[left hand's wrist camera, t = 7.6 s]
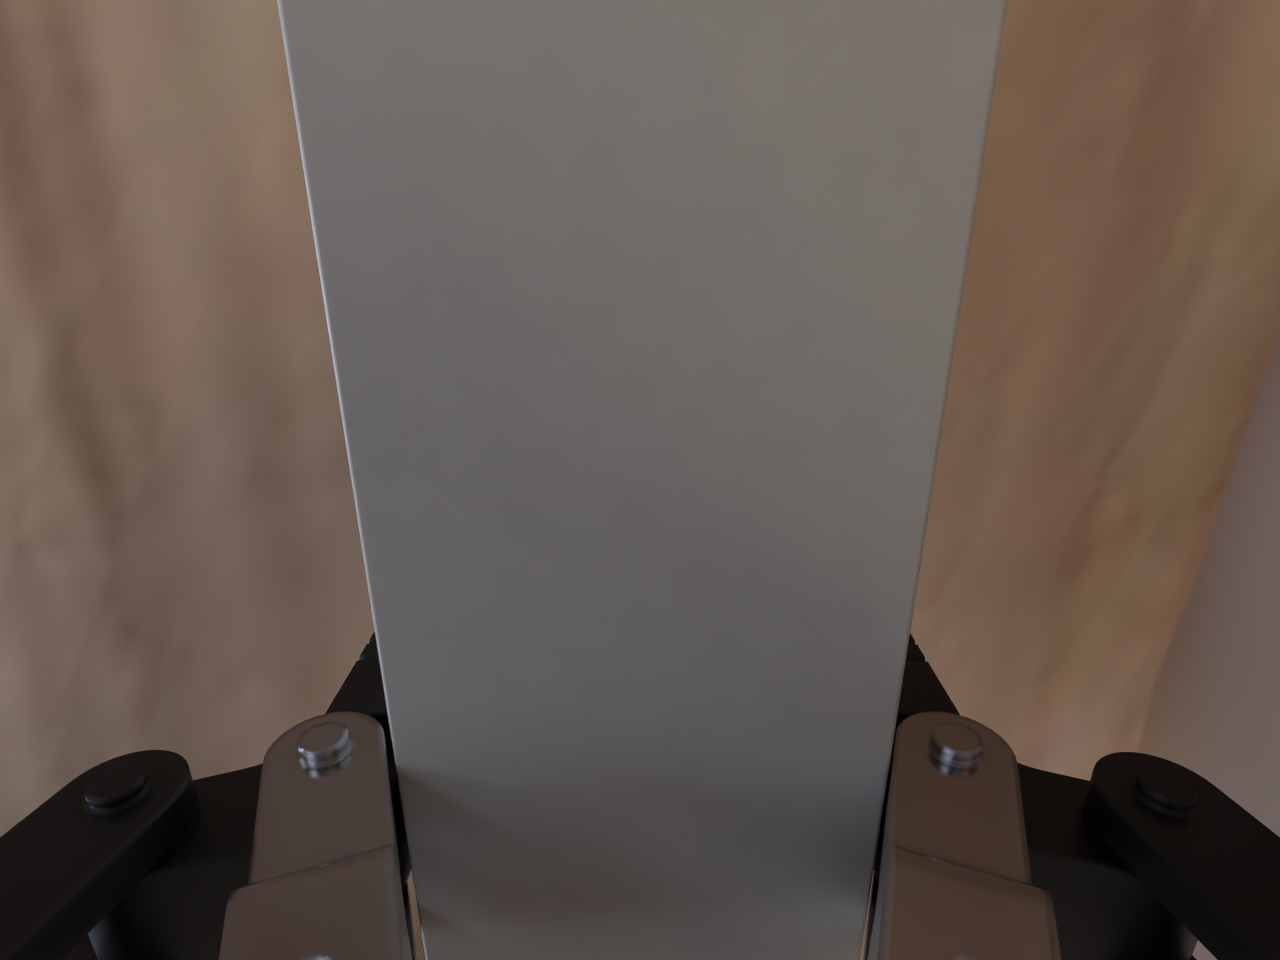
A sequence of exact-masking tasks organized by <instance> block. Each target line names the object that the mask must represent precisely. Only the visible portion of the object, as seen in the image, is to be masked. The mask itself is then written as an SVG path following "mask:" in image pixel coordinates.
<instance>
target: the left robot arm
mask: <svg viewBox="0 0 1280 960" xmlns="http://www.w3.org/2000/svg"><path fill="white" fill-rule="evenodd" d="M410 871H411V861H410V855H409V848H408V842H407V835H406V829H405V822H404V816H403V809H402V803H401V797H400V790H399V784H398V777H397V771H396V764H395V758H394V751H393V745H392V738H391V732H390V725H389V719H388V713H387V706H386V700H385V693H384V687H383V680H382V674H381V667H380V661H379V654H378V648H377V642H376V635H375V632H374V633H373V635H372V637H371V638H370V643H369V644H367V645H366V647H365V648H364V650H363V652H362V653H361V655H360V660H359V661H357V662H356V663H355V665H354V667H353V668H352V670H351V672H350V673H349V675H348V677H347V678H346V680H345V682H344V683H343V685H342V687H341V688H340V690H339V692H338V693H337V695H336V697H335V698H334V700H333V702H332V703H331V705H330V707H329V708H328V710H327V712H326V713H325V714H323V715H320V716H316V717H313V718H311V719H308V720H305V721H303V722H301V723H299V724H297V725H295V726H294V727H292V728H290V729H289V730H287V731H286V732H285V733H283V734H282V735H281V736H279V737H278V738H277V739H276V740H275V741H274V742H273V744H272V745H271V746H270V748H269V749H268V751H267V752H266V754H265V756H264V760H263V764H260V765H257V766H253V767H250V768H246V769H242V770H237V771H233V772H228V773H224V774H219V775H215V776H211V777H206V778H202V779H197V780H193V779H192V776H191V772H190V769H189V765H188V763H187V761H186V760H185V759H184V758H183V757H182V756H180V755H179V754H177V753H174V752H170V751H165V750H147V751H139V752H134V753H130V754H126V755H123V756H120V757H116V758H114V759H111V760H109V761H106V762H104V763H101V764H99V765H97V766H95V767H93V768H91V769H90V770H88V771H86V772H85V773H83V774H81V775H80V776H78V777H77V778H75V779H74V780H73V781H71V782H70V783H69V784H67V785H66V786H65V787H63V788H62V789H61V790H60V791H58V792H57V793H56V794H55V795H53V796H52V797H51V798H50V799H48V800H47V801H46V802H45V803H43V804H42V805H41V806H39V807H38V808H37V809H36V810H34V811H33V812H32V813H31V814H29V815H28V816H27V817H26V818H24V819H23V820H22V821H21V822H19V823H18V824H17V825H16V826H14V827H13V828H12V829H10V830H9V831H8V832H7V833H5V834H4V835H3V836H2V837H0V960H417V958H416V948H415V939H414V930H413V921H412V912H411V903H410V894H409V888H408V882H407V880H408V877H409V874H410ZM1197 940H1199V941H1200V942H1201V943H1202V944H1203V945H1204V946H1205V947H1206V948H1207V949H1208V950H1209V951H1210V952H1211V953H1212V954H1213V955H1214V956H1215V957H1216V959H1218V960H1280V837H1278V836H1277V835H1276V834H1275V833H1273V832H1272V831H1271V830H1269V829H1268V828H1267V827H1266V826H1265V825H1263V824H1262V823H1261V822H1259V821H1258V820H1257V819H1256V818H1254V817H1253V816H1252V815H1251V814H1249V813H1248V812H1247V811H1246V810H1244V809H1243V808H1242V807H1240V806H1239V805H1238V804H1237V803H1235V802H1234V801H1233V800H1232V799H1230V798H1229V797H1228V796H1227V795H1225V794H1224V793H1223V792H1222V791H1220V790H1219V789H1218V788H1217V787H1215V786H1214V785H1213V784H1211V783H1210V782H1208V781H1207V780H1206V779H1204V778H1203V777H1201V776H1199V775H1198V774H1196V773H1194V772H1193V771H1191V770H1189V769H1187V768H1185V767H1183V766H1181V765H1178V764H1176V763H1174V762H1171V761H1169V760H1166V759H1162V758H1159V757H1156V756H1152V755H1147V754H1142V753H1135V752H1120V753H1113V754H1109V755H1106V756H1104V757H1103V758H1101V759H1100V760H1099V761H1098V762H1097V763H1096V765H1095V767H1094V769H1093V773H1092V776H1091V780H1090V781H1087V780H1082V779H1078V778H1074V777H1069V776H1065V775H1060V774H1056V773H1051V772H1047V771H1043V770H1039V769H1035V768H1031V767H1028V766H1025V765H1022V764H1019V763H1017V760H1016V756H1015V754H1014V752H1013V751H1012V749H1011V748H1010V746H1009V745H1008V744H1007V742H1006V741H1005V740H1004V739H1003V738H1002V737H1001V736H999V735H998V734H997V733H995V732H994V731H993V730H991V729H990V728H988V727H986V726H985V725H983V724H981V723H979V722H977V721H975V720H972V719H969V718H967V717H964V716H960V714H959V712H958V711H957V709H956V708H955V706H954V704H953V703H952V701H951V699H950V698H949V696H948V694H947V693H946V691H945V689H944V688H943V686H942V685H941V683H940V681H939V680H938V678H937V676H936V675H935V673H934V671H933V670H932V668H931V666H930V665H929V663H928V662H925V657H924V655H923V653H922V652H921V650H920V648H919V647H918V645H915V640H914V639H913V637H912V635H911V634H910V635H909V642H908V648H907V655H906V661H905V668H904V674H903V681H902V687H901V694H900V700H899V707H898V713H897V720H896V726H895V733H894V739H893V746H892V752H891V759H890V765H889V772H888V778H887V785H886V791H885V798H884V804H883V811H882V817H881V824H880V830H879V837H878V843H877V850H876V856H875V863H874V875H873V882H872V888H871V894H870V903H869V912H868V921H867V930H866V939H865V948H864V958H863V960H1196V959H1195V958H1194V957H1193V955H1192V953H1193V951H1194V948H1195V945H1196V943H1197Z"/></svg>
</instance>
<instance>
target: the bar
mask: <svg viewBox="0 0 1280 960" xmlns="http://www.w3.org/2000/svg"><path fill="white" fill-rule="evenodd" d="M277 2H278V8H279V15H280V21H281V28H282V34H283V41H284V47H285V54H286V60H287V66H288V73H289V79H290V86H291V92H292V99H293V105H294V112H295V118H296V125H297V131H298V138H299V144H300V150H301V157H302V163H303V170H304V176H305V183H306V189H307V196H308V202H309V209H310V215H311V222H312V228H313V234H314V241H315V247H316V254H317V260H318V267H319V273H320V280H321V286H322V293H323V299H324V306H325V312H326V318H327V325H328V331H329V338H330V344H331V351H332V357H333V364H334V370H335V377H336V383H337V390H338V396H339V402H340V409H341V415H342V422H343V428H344V435H345V441H346V448H347V454H348V461H349V467H350V474H351V480H352V486H353V493H354V499H355V506H356V512H357V519H358V525H359V532H360V538H361V545H362V551H363V558H364V564H365V570H366V577H367V583H368V590H369V596H370V603H371V609H372V616H373V622H374V629H375V635H376V642H377V648H378V654H379V661H380V667H381V674H382V680H383V687H384V693H385V700H386V706H387V713H388V719H389V725H390V732H391V738H392V745H393V751H394V758H395V764H396V771H397V777H398V784H399V790H400V797H401V803H402V809H403V816H404V822H405V829H406V835H407V842H408V848H409V855H410V861H411V868H412V874H413V881H414V887H415V893H416V900H417V906H418V913H419V919H420V926H421V932H422V939H423V945H424V952H425V958H426V960H860V954H861V947H862V941H863V934H864V928H865V921H866V915H867V908H868V902H869V895H870V889H871V882H872V876H873V869H874V863H875V856H876V850H877V843H878V837H879V830H880V824H881V817H882V811H883V804H884V798H885V791H886V785H887V778H888V772H889V765H890V759H891V752H892V746H893V739H894V733H895V726H896V720H897V713H898V707H899V700H900V694H901V687H902V681H903V674H904V668H905V661H906V655H907V648H908V642H909V635H910V629H911V622H912V616H913V609H914V603H915V596H916V590H917V583H918V577H919V570H920V564H921V557H922V551H923V544H924V538H925V531H926V525H927V518H928V512H929V505H930V499H931V492H932V486H933V479H934V473H935V466H936V460H937V453H938V447H939V440H940V434H941V428H942V421H943V415H944V408H945V402H946V395H947V389H948V382H949V376H950V369H951V363H952V356H953V350H954V343H955V337H956V330H957V324H958V317H959V311H960V304H961V298H962V291H963V285H964V278H965V272H966V265H967V259H968V252H969V246H970V239H971V233H972V226H973V220H974V213H975V207H976V200H977V194H978V187H979V181H980V174H981V168H982V161H983V155H984V148H985V142H986V135H987V129H988V122H989V116H990V109H991V103H992V96H993V90H994V83H995V77H996V70H997V64H998V57H999V51H1000V44H1001V38H1002V31H1003V25H1004V18H1005V12H1006V5H1007V0H277Z"/></svg>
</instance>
